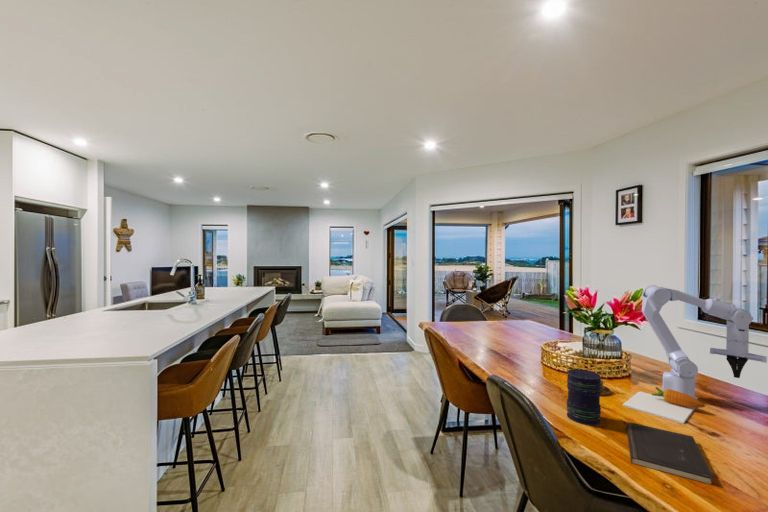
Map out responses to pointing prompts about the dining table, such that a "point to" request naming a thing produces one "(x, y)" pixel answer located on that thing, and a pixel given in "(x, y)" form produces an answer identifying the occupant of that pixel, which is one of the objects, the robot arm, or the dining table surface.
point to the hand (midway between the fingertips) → (736, 377)
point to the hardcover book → (667, 452)
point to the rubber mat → (658, 407)
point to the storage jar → (583, 396)
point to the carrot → (678, 398)
